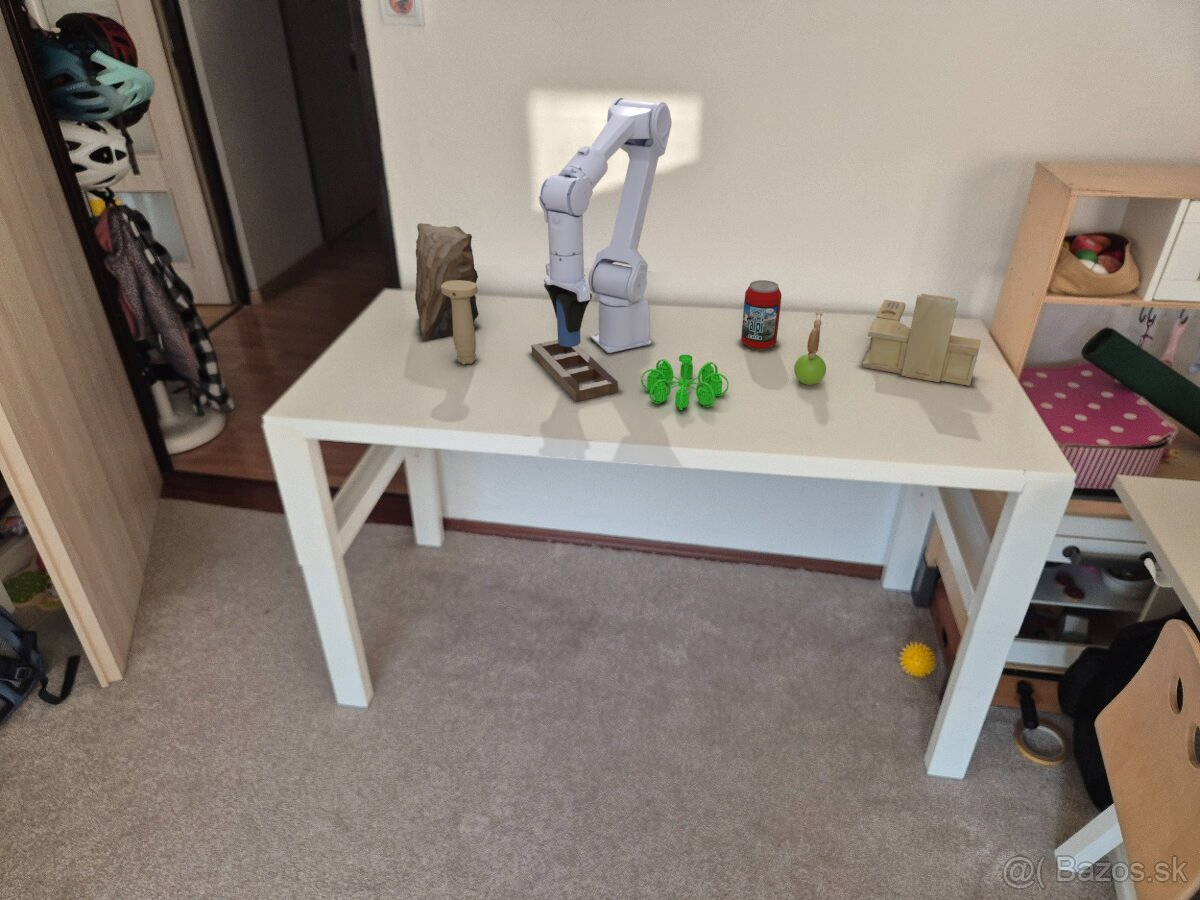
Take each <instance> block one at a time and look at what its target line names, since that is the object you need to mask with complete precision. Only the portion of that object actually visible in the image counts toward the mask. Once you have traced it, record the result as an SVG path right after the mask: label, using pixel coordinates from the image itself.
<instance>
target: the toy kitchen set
mask: <svg viewBox="0 0 1200 900" xmlns="http://www.w3.org/2000/svg"><path fill="white" fill-rule="evenodd" d="M914 305H915V306H914V310H913V314H912V320H911V324H910V327H909V326H907V325H905V324H904V323H902V322H901V319H902V317H903V314H904V311H905V309H906V306H907V305H906V303H905V302H903V301H898V300H897V301H896V300H890V299H884V300H883V302H882V304H881V306H880V308H879V309H878V312H877V314H876V317H874V318H873V321H872V322H871V325H870V327H869V329H868V332H867V337H870V341H869V342H870V343H869V349H868V351H867V353H866V355H865V357H864V360H863V362H862V368H864V369H871V370H877V371H884V372H889V373H895V374H900V375H901V376H902V377H907V378H912V379H919V380H923V381H924V380H925V381H931V382H935V383H940V382H947V383H952V384H957V385H963V386H971V383H972V379H973V375H974V371H975V366H976V363H977V359H978V356H979V351H980V347H981V343H982V340H981V339H977V338H970V337H965V336H958V335H952V331H953V327H954V321H955V316H956V313H957V308H958V305H959V301H958V300H956V298H955V297H950V296H942V295H936V294H935V295H933V294H929V293H928V294H927V293H921V294H918V295H916V300H915V304H914Z"/></svg>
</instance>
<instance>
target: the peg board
mask: <svg viewBox="0 0 1200 900" xmlns="http://www.w3.org/2000/svg"><path fill="white" fill-rule="evenodd" d="M530 346H531V355H532V357H533V358H534V359H535V360H536V361H537V362H538V363H539V364H540V365H541V366H542V367H543V368H544V369H545V370H546V371H547V372H548V374H549V375H551V377H552V378H553V379H554V380H555V381H556V382H557V383H558V384H559V385H560V387H562V389H563V390H564V391H565V392H566V393H567V394H568V395H569V396H570V397H571V398H572V399H573V400H574V401H575V403H576V402H577V403H578V402H581V401H585V400H589V399H595V398H598V397H602V396H606V395H611V394H615V393H618V392H619V381H618V380H616V379H615V377H613V376H612V375H611V374H610V373H609V372H608V371H607V370H606V369H605V368H604V367H603V366H602V365H600V363H598V362H597V361H596V360H595V359H594V358H593V357H592V356H591V355H590V354H589V353H588V352H587V351H586V350H584V349H583V348H582V347H581V346H580V344H579V345H577V346H573V347H565V346H561V345H559V344H558V339H555V340H549V341H544V342H539V343H534V344H531V345H530ZM564 352H566V353H564ZM559 353H563V354H559ZM555 354H558V355H555ZM552 355H553V356H552ZM574 366H581V367H576V368H572V369H567V370H566V369H565V368H570V367H574ZM590 380H595V381H596V382H592V383H586V384H582V385H581V384H580V383H581V382H586V381H590Z"/></svg>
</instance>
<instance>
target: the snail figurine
mask: <svg viewBox="0 0 1200 900" xmlns="http://www.w3.org/2000/svg"><path fill="white" fill-rule="evenodd" d="M818 316H820V317H819V318H818ZM822 316H823V312H819V311H815V318H816V319H815V320H814V321H813V328H812V329H811V331H810V333H809V336H808V340H807V352H808V353H805V354H802V355H801V356H800V357H798V359H797V360H796V361H795V363H794V368H793V372H794V375H795V378H796V379H797V380H798V381H799V382H800V383H801V384H804V385H807V386H813V385H816V384H818V383H820V382H821V381H822V380H823V379H824V377H825V375H826V373H827V365H826V362H825V360H824V359H823V358H822V357H821V356H820V355H818V354H817V353H818V351H819V347H820V338H821V337H820V335H821V326H822V320H821V319H822Z"/></svg>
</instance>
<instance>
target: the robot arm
mask: <svg viewBox="0 0 1200 900" xmlns="http://www.w3.org/2000/svg"><path fill="white" fill-rule="evenodd" d="M606 118H607V119H606V124H604V127H603V128H602V130H601V131H600V133H599V134H598V136H596V138H595V140H594V141H593V143H592V145H591V146H590V145H585V146H584V145H583V146H580V147H579V149H578V150H577V152H576V153H575V154H574V155H573V156H572V158H570V160H569V161H568V162H567V164H566V165H565V166H564V167H563V168H562V169H561V171H560V172H559V173H558V174H557V175H556V174H554V175H550V176H549V177H548V178H546V179H545V180H544V181H543V183H542V185H541V187H540V193H539V196H538V200H539V201H538V202H539V205H540V208H541V209H542V211H543V216H544V217H543V218H544V220H545V223H547V233H548V235H547V236H548V255H549V256H548V258H549V263H545V274H546V277H544V278H543V282H544V283H543V286H544V288H545V290H546V292H547V293H548V295H549V298H550V300H551V305H552V307H553V310H554V314H555V318H556V319H557V306H556V300H557V298H558V299H559V301H560V303H561V305H562V308H563V311H564V315H565V322H566V327H567V330H568V332H569V333H572V332H577V331H580V332H581V328H582V323H583V320H584V316H585V312H586V309H587V308H588V306H589V304H590V302H591V300H592V298H593V295H592V294H594V298H595V300H597V301H598V333H597V334H593V335H591V336H590V338H591V339H592V341H593V342H594V343H596V344H597V345H598V346H599V347H600V348H601V349H602V350H604V351H605V352H606V353H607V354H611V353H617V352H620V351H625V350H629V349H634V348H640V347H644V346H649V345H651V344H652V341H651V340H650V331H651V328H650V327H651V310H650V309H651V308H650V304H649V302H648V300H647V298H646V297H645V296H644V294H645V292H646V290H647V284H648V278H647V277H648V275H647V274H648V268H649V264H648V263H647V261H646V260H645V258H644V257H643V256H642V254H641V253H640V252H639V250H638V249H639V245H640V241H641V236H642V232H643V227H644V223H645V219H646V214H647V210H648V205H649V202H650V196H651V193H652V188H653V183H654V181H655V180H654V179H655V175H656V171H657V167H658V163H659V158H660V157H662V156H664V155H665V153H666V150H667V145H668V143H669V138H670V133H671V128H672V122H673V121H672V117H671V111H670V109H669V105H668V104H667V103H666V102H664V101H657V102H656V101H646V100H636V99H625V98H623V97H618V98H616V99H615V100H614V101H613V102H612V104H611V105H610V106H609V108H608V110H607V117H606ZM620 149H621V150H622V151H623V152H625V153H626V154H627V156H628V158H629V159H628V164H627V168H626V174H625V178H624V183H623V187H622V192H621V196H620V199H619V200H620V201H619V205H618V209H617V214H616V218H615V223H614V228H613V231H612V236H611V241H610V244H609V245H608V246H607V247H604V248H603V249H601V250H600V251H599V252H597V253H596V257H595V260H594V262H593V265H592V267H591V268H590V271H589V274H588V282H587V277H586V275H585V261H584V258H585V257H584V216H583V215H584V214H585V213H586V212H587V210H588V208H589V205H590V202H591V201H590V200H591V198H592V196H593V194H594V191H593V190H594V188H596V186H597V185H598V184H599V182H600V181H601V180H602V179H603V177H604V176H605V175H606V174H607V172H608V168H609V166H608V165H609V164H608V161H609V159H611V158H612V157H613V156H614V155H615V154H616V152H618V150H620ZM617 263H618V264H617ZM622 264H623V265H622ZM626 265H628V266H626Z"/></svg>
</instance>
